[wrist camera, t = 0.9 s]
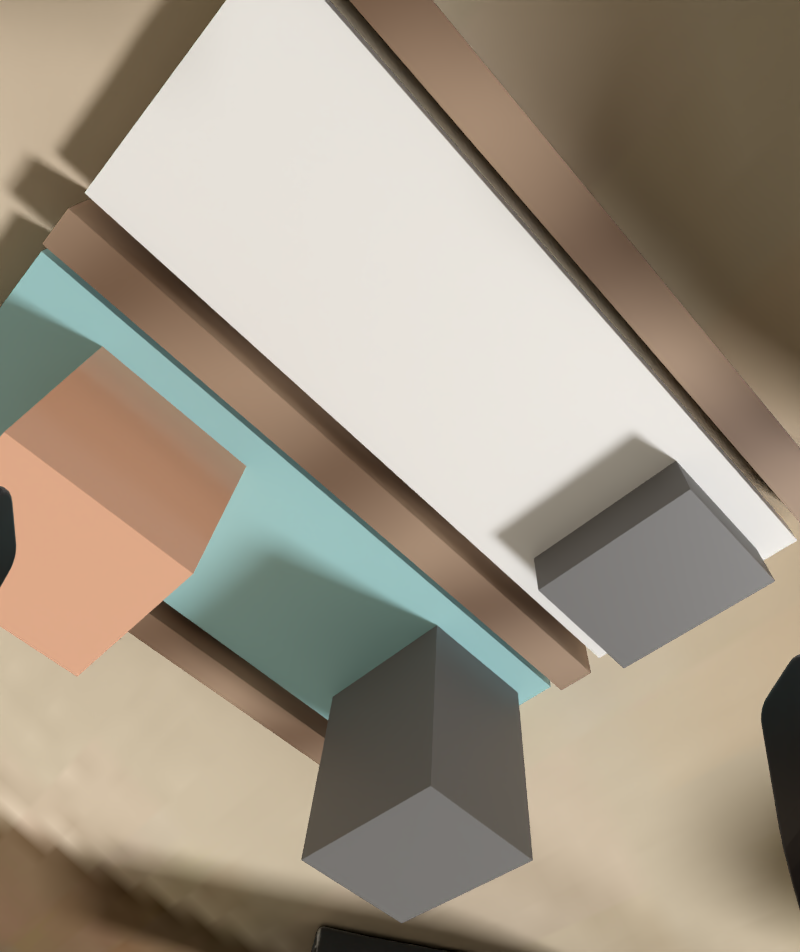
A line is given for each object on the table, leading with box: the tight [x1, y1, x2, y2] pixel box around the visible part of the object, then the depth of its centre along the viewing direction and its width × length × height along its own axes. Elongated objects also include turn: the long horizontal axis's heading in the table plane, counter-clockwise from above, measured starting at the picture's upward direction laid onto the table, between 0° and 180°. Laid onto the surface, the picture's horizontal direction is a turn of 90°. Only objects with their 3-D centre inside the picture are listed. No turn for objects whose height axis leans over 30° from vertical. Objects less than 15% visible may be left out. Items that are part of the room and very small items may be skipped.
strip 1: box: [85, 0, 797, 668], centre depth 20 cm, size 20×7×2 cm, turn 45°
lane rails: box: [42, 0, 800, 765], centre depth 22 cm, size 20×19×2 cm
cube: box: [0, 346, 246, 676], centre depth 20 cm, size 5×5×5 cm
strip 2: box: [0, 249, 551, 923], centre depth 21 cm, size 20×7×7 cm, turn 45°
